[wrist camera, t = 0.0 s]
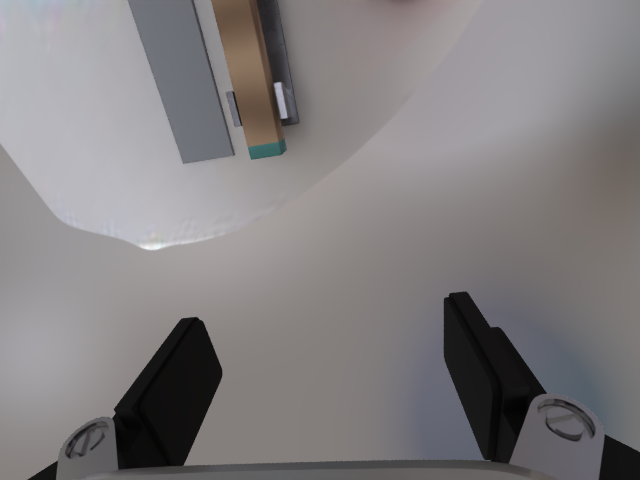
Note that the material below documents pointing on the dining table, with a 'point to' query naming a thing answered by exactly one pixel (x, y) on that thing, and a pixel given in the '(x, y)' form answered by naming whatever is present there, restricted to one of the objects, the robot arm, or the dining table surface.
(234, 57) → the rail
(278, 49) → the bracket
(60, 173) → the dining table surface
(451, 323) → the robot arm
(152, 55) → the mat
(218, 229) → the dining table surface
